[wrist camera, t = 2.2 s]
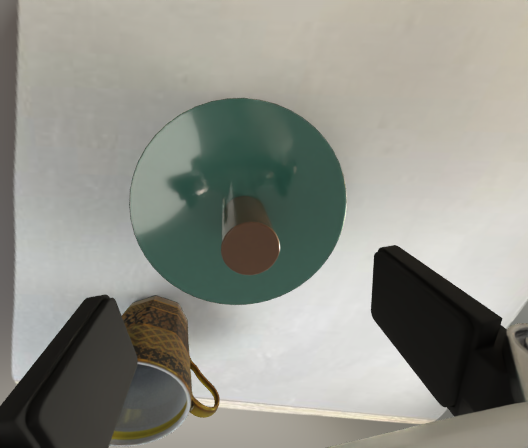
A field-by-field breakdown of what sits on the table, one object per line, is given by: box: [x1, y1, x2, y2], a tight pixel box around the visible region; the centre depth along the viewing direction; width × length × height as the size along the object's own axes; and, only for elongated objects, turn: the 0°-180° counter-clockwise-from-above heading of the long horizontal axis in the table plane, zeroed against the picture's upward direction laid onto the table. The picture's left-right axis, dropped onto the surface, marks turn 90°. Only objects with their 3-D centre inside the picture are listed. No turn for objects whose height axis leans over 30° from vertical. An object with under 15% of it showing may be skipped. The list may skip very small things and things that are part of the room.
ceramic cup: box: [109, 296, 219, 446], centre depth 26 cm, size 13×10×10 cm
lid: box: [129, 98, 347, 305], centre depth 16 cm, size 15×15×6 cm
